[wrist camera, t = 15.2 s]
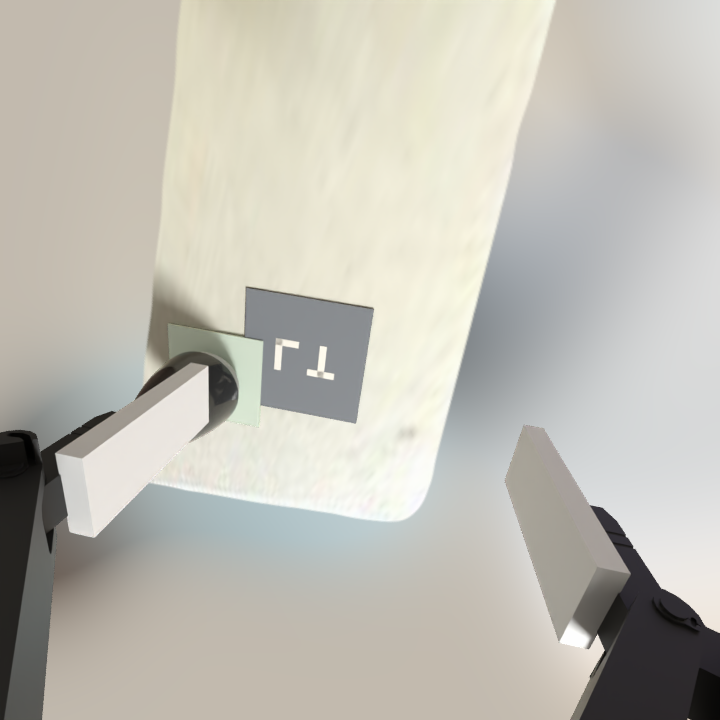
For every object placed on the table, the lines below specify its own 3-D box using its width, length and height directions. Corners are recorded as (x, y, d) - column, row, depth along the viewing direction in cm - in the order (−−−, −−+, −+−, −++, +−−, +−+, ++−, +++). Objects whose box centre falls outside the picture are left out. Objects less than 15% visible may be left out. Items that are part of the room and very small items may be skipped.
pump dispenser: (261, 405, 53) (205, 474, 39) (194, 415, 55) (118, 484, 41) (237, 335, 50) (167, 383, 36) (167, 348, 52) (75, 399, 38)
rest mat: (169, 323, 51) (167, 324, 51) (264, 340, 50) (262, 341, 50) (173, 409, 56) (171, 410, 55) (259, 426, 55) (258, 427, 54)
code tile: (246, 287, 48) (246, 287, 48) (373, 309, 47) (373, 309, 46) (243, 401, 54) (242, 401, 53) (356, 422, 52) (355, 423, 52)
